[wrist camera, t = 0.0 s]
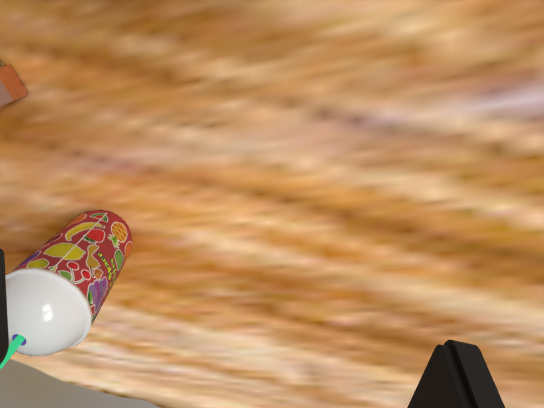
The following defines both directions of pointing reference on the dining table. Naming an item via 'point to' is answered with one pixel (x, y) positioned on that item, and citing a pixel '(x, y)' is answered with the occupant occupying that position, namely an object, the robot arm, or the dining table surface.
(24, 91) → the tongs moving jaw
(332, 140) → the dining table surface
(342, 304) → the dining table surface
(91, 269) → the smoothie
